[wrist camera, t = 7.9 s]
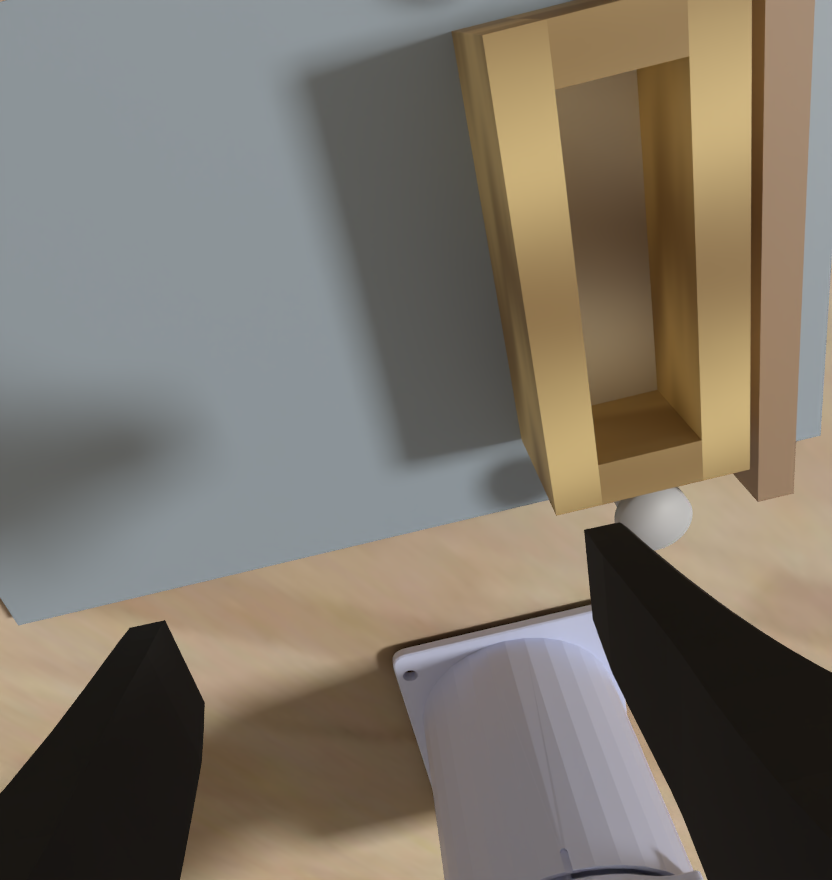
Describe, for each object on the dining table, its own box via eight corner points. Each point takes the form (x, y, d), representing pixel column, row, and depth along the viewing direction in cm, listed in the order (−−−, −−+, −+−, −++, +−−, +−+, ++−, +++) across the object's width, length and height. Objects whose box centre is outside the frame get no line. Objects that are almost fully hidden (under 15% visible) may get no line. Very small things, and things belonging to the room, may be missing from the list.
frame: (685, 399, 23) (749, 469, 19) (521, 439, 23) (556, 515, 19) (666, -24, 17) (751, -33, 14) (451, 31, 17) (482, 35, 14)
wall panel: (811, 428, 24) (890, 494, 21) (23, 614, 25) (-25, 710, 21) (846, -209, 16) (982, -267, 13) (-315, 83, 17) (-478, 101, 13)
